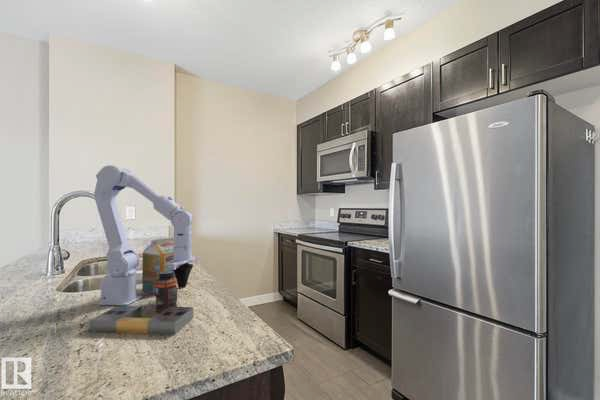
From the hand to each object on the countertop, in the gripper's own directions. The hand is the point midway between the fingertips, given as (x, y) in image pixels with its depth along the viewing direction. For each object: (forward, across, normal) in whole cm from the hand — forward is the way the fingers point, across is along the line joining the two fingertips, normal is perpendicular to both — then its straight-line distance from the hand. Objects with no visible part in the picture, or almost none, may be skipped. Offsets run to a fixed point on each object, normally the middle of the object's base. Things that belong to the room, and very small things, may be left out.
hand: (182, 286), depth 96 cm
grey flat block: (+4, -21, 0) cm, 21 cm away
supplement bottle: (+4, -10, 0) cm, 11 cm away
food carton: (+4, +10, +12) cm, 16 cm away
